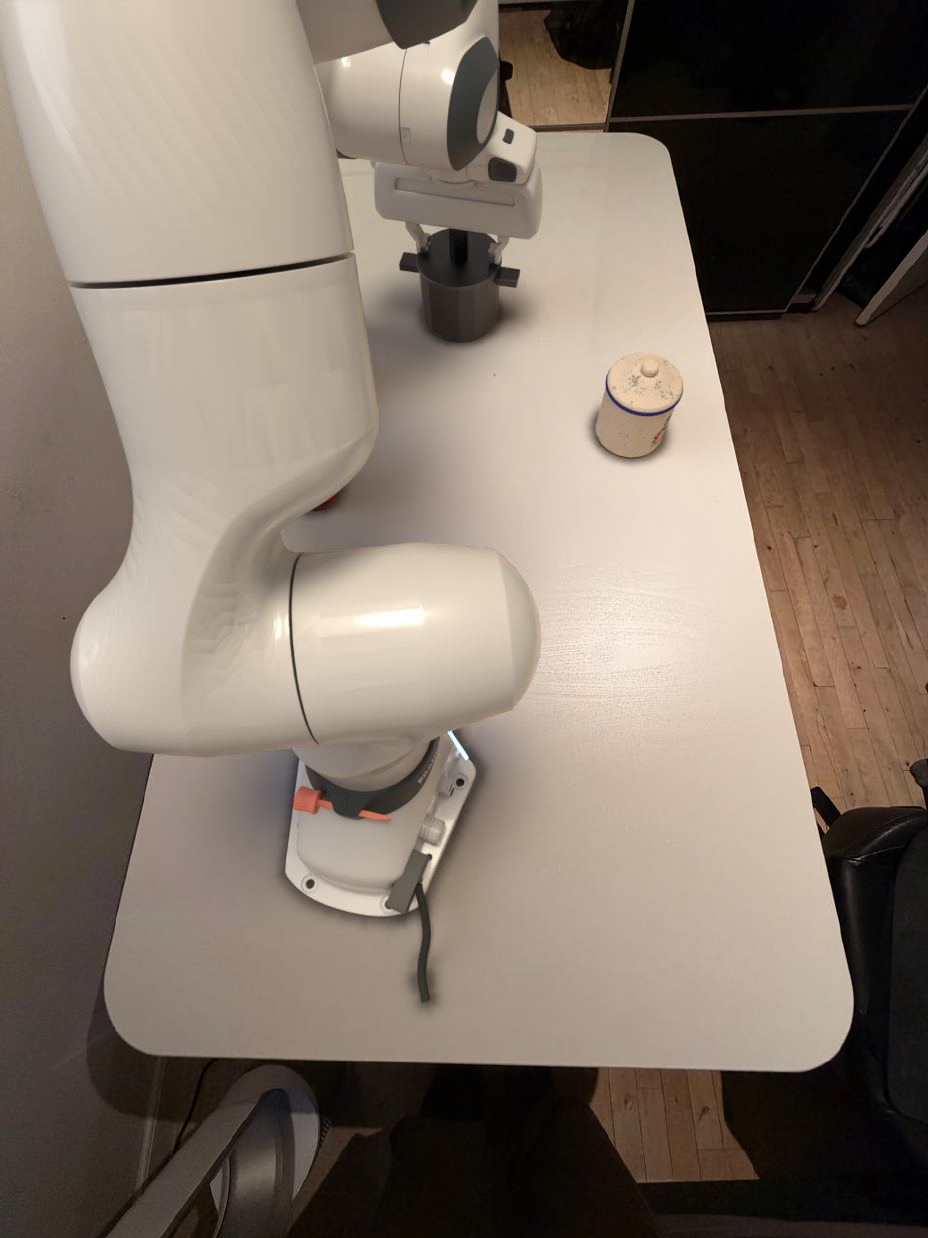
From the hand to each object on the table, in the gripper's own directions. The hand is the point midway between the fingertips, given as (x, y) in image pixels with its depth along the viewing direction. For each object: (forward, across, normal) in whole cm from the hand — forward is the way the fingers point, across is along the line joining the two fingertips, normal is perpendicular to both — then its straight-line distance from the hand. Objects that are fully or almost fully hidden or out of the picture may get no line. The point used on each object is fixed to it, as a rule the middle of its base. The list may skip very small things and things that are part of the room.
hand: (459, 255), depth 83 cm
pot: (+9, 0, 0) cm, 9 cm away
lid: (+1, 0, 0) cm, 1 cm away
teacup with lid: (+10, +26, -14) cm, 31 cm away
